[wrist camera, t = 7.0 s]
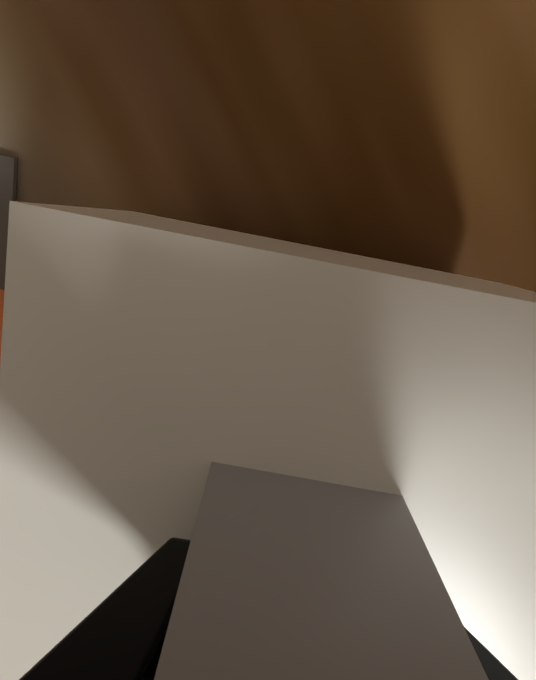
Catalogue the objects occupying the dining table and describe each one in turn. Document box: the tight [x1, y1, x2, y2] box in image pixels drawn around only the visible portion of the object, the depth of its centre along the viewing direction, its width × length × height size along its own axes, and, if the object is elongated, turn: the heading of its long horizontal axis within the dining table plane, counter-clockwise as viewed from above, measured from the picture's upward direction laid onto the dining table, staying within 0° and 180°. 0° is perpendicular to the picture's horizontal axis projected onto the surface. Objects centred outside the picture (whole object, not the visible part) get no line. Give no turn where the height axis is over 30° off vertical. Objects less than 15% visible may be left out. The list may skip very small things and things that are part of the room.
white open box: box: [0, 201, 536, 680], centre depth 9 cm, size 10×10×10 cm
